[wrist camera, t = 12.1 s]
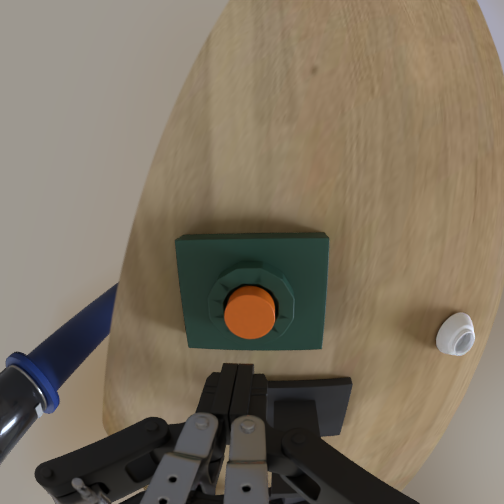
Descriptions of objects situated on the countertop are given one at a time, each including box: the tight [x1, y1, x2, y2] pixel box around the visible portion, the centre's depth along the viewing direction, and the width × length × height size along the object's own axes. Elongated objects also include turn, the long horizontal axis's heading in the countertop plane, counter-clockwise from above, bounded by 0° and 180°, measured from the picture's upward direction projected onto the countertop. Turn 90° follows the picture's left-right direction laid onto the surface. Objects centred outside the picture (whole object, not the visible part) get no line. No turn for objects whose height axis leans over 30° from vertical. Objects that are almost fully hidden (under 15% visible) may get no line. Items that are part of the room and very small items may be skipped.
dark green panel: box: [175, 232, 329, 350], centre depth 23 cm, size 12×10×4 cm
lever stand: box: [267, 377, 353, 504], centre depth 22 cm, size 12×9×13 cm
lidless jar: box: [436, 312, 475, 356], centre depth 23 cm, size 5×3×5 cm
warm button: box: [224, 286, 275, 339], centre depth 21 cm, size 4×4×2 cm
